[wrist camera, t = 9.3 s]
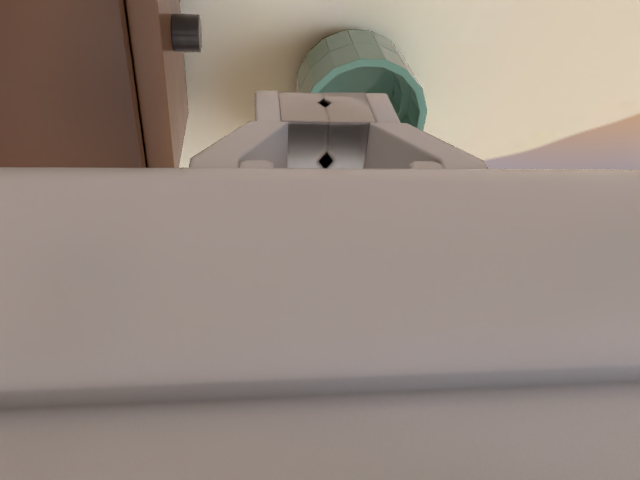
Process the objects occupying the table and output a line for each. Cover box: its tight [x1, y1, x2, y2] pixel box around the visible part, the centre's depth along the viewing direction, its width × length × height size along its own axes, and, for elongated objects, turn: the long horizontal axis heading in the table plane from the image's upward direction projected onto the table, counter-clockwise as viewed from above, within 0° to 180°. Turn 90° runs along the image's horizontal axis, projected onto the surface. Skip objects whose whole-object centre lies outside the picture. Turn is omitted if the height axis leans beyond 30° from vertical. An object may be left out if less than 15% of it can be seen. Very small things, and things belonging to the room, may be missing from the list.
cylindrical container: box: [296, 30, 427, 131], centre depth 30 cm, size 6×6×5 cm
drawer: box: [123, 0, 202, 168], centre depth 24 cm, size 15×11×7 cm
